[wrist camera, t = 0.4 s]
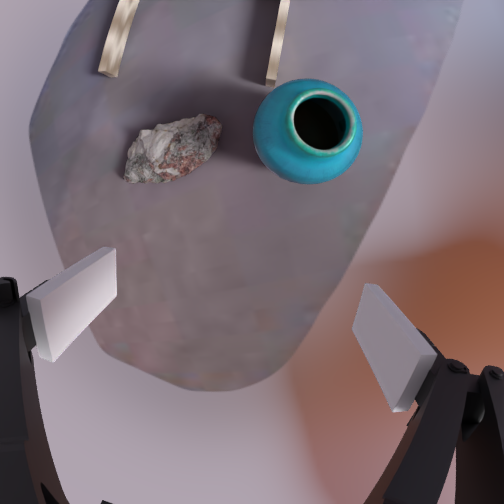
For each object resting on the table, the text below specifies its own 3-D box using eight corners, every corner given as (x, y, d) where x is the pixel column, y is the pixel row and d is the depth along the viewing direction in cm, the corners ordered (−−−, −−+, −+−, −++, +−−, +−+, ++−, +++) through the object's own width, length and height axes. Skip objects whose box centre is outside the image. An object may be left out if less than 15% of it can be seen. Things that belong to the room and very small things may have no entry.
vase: (255, 179, 40) (251, 193, 22) (253, 103, 37) (247, 54, 19) (333, 179, 40) (389, 194, 21) (331, 104, 37) (384, 63, 18)
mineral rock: (131, 189, 41) (118, 192, 37) (123, 136, 39) (109, 134, 34) (230, 171, 40) (227, 172, 36) (222, 114, 38) (218, 109, 33)
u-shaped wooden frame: (136, -9, 31) (127, -20, 27) (290, -5, 32) (293, -18, 28) (110, 77, 36) (98, 71, 32) (274, 87, 36) (275, 79, 32)
